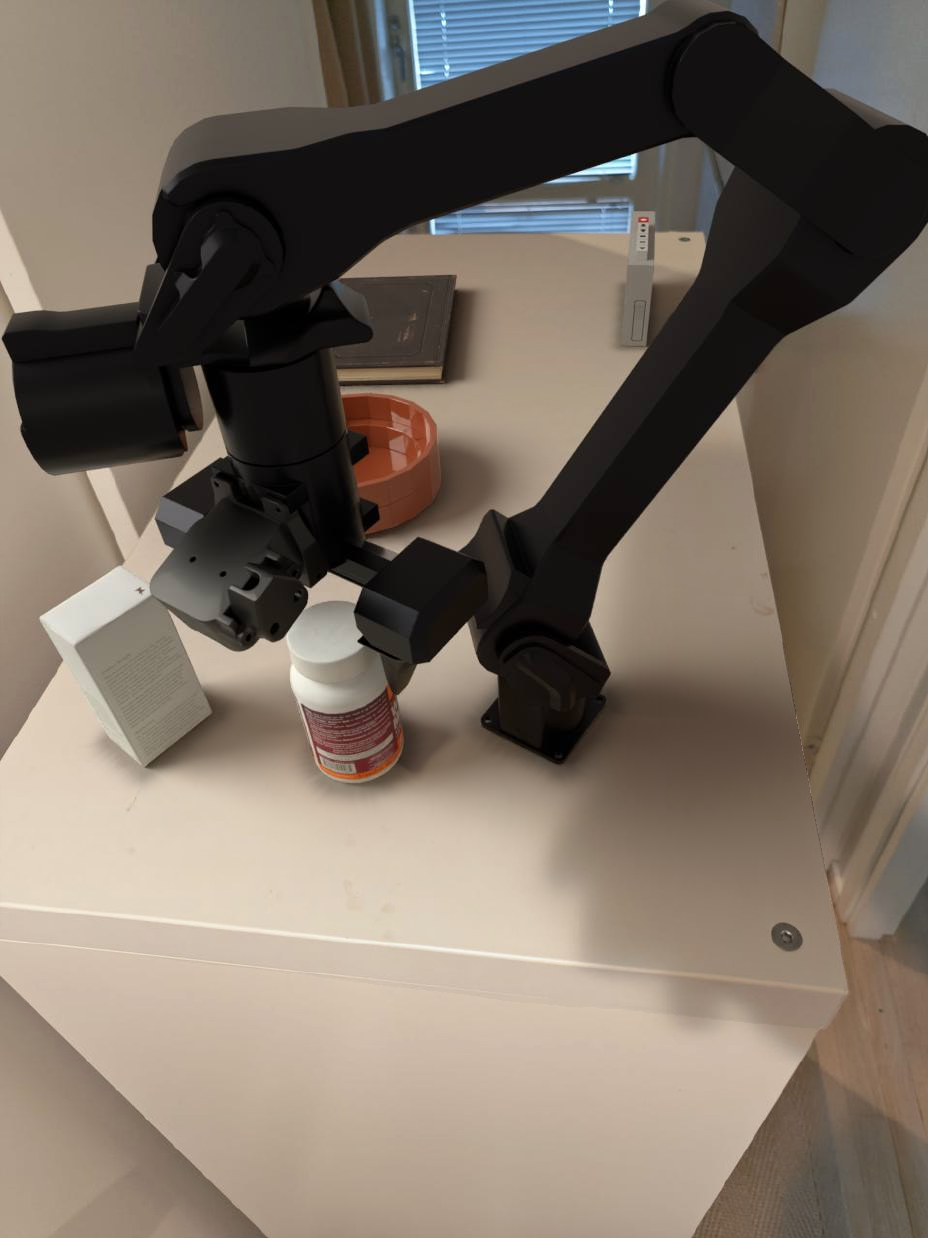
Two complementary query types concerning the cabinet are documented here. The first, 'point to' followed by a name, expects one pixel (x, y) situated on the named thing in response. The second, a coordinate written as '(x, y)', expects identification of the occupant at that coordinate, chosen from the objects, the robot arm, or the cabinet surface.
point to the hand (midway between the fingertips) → (339, 658)
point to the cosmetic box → (129, 663)
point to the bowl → (394, 455)
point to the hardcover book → (401, 331)
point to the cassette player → (639, 278)
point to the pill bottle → (343, 695)
